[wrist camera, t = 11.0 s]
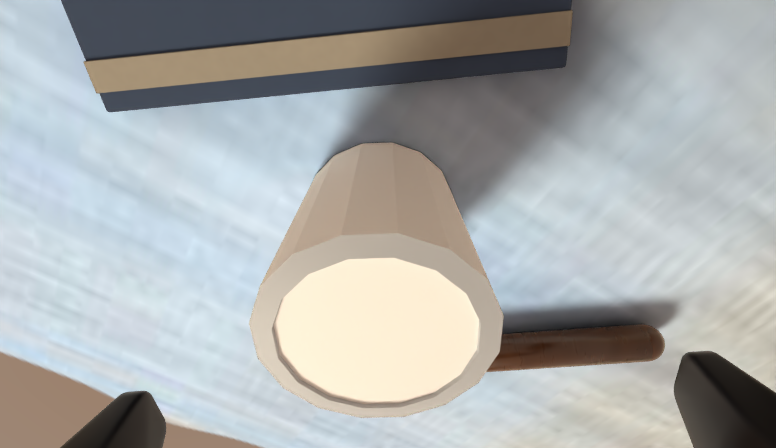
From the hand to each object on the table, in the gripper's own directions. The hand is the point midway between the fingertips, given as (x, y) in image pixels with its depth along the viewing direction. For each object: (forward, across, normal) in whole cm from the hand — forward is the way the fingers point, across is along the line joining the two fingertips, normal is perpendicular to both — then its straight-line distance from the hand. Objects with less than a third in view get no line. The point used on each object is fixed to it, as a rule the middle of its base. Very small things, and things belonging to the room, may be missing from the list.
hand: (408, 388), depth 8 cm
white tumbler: (+11, +1, +3) cm, 12 cm away
